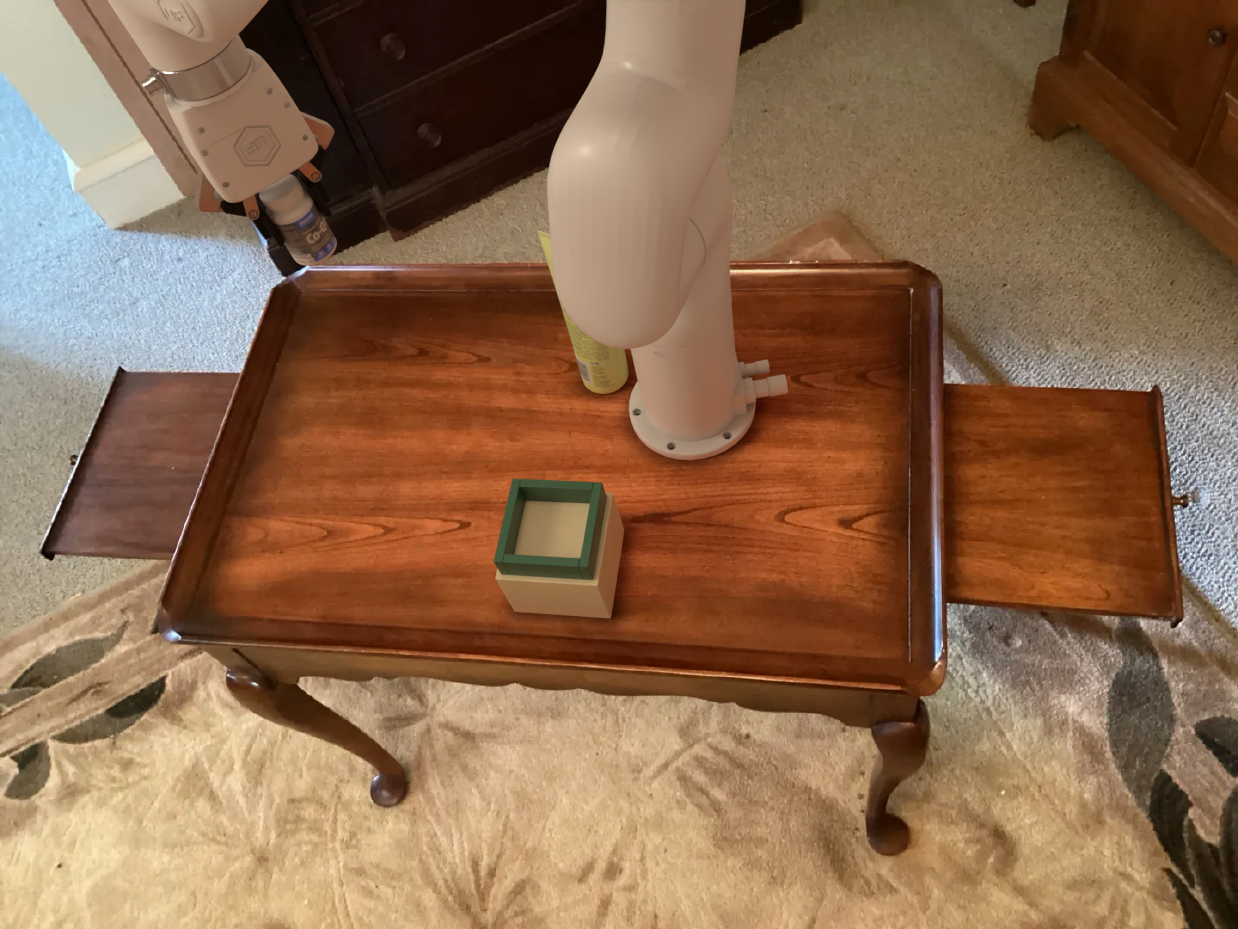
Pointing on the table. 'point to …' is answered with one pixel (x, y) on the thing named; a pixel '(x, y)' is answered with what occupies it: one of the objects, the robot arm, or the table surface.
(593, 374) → the tube
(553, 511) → the green rimmed box
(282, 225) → the pill bottle
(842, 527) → the table surface
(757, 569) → the table surface
